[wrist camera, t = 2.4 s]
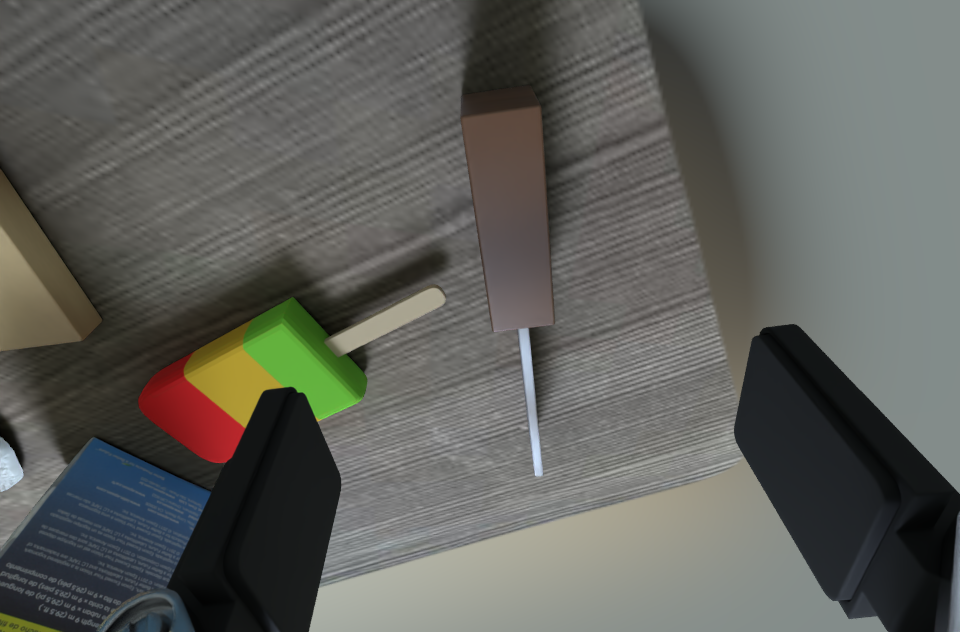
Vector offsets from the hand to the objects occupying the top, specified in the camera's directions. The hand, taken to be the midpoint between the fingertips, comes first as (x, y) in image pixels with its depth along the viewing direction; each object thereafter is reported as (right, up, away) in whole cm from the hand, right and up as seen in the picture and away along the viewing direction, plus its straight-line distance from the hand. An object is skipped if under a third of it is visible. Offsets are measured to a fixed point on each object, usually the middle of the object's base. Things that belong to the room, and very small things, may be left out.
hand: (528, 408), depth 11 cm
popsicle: (-9, 0, +13) cm, 16 cm away
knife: (+1, +3, +11) cm, 12 cm away
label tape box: (-19, -7, +18) cm, 27 cm away
